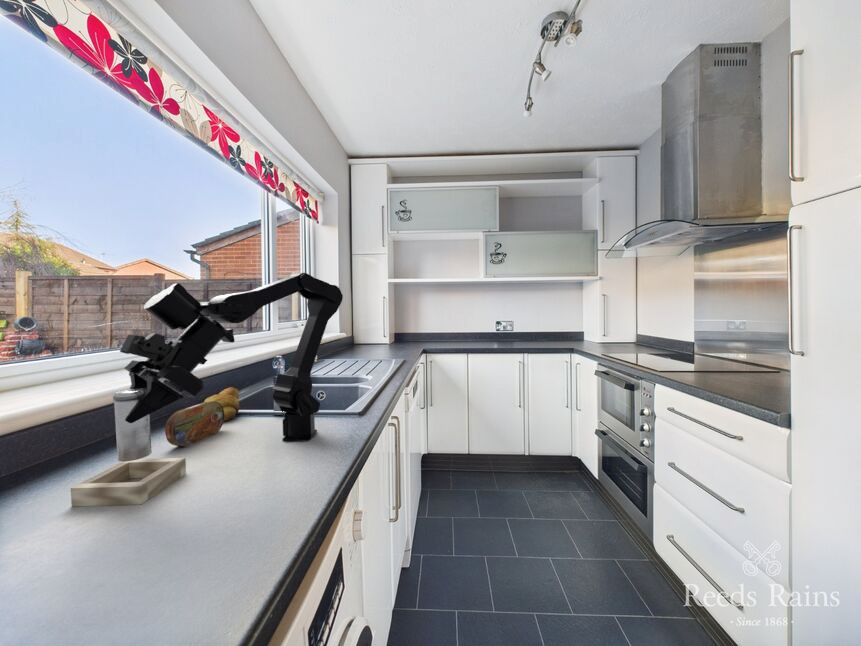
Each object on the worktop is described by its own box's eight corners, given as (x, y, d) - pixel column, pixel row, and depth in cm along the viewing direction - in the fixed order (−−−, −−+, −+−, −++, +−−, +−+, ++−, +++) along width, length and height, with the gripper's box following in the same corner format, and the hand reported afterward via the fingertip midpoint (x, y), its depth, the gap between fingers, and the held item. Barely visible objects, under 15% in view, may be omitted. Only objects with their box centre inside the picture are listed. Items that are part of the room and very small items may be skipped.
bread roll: (241, 420, 101) (240, 392, 101) (200, 427, 96) (199, 397, 96) (239, 410, 112) (238, 384, 112) (202, 415, 108) (201, 388, 107)
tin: (174, 452, 79) (173, 414, 79) (163, 451, 80) (161, 414, 80) (226, 429, 94) (225, 397, 94) (216, 428, 95) (214, 397, 94)
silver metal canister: (158, 452, 62) (155, 389, 61) (128, 463, 57) (124, 395, 57) (140, 449, 63) (137, 387, 63) (110, 459, 59) (106, 393, 58)
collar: (186, 473, 69) (185, 457, 69) (140, 504, 58) (139, 486, 58) (128, 474, 68) (127, 459, 68) (71, 506, 57) (70, 488, 57)
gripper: (135, 317, 68) (56, 386, 59) (178, 317, 57) (91, 400, 49) (184, 353, 75) (120, 419, 66) (231, 359, 64) (162, 439, 56)
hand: (122, 419), depth 59 cm, fingers closed on silver metal canister, 4 cm apart
